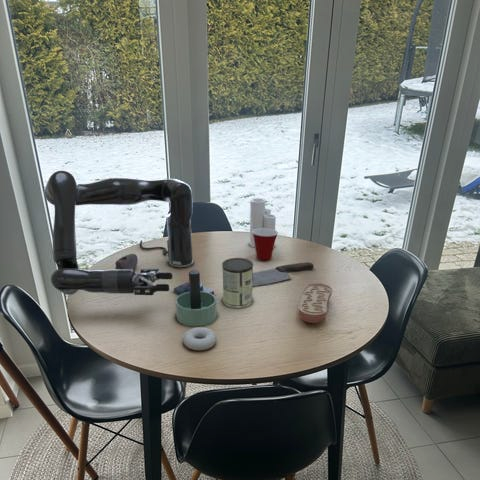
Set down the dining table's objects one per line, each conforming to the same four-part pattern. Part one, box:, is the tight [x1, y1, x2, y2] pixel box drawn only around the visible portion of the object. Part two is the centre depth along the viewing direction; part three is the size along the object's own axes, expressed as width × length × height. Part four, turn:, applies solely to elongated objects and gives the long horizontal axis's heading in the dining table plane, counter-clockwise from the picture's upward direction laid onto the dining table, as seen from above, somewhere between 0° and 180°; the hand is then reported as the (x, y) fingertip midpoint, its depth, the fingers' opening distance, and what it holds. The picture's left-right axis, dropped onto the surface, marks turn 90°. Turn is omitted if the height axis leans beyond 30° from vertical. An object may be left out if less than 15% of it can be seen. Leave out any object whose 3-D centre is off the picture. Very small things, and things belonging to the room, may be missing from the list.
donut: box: [182, 326, 217, 351], centre depth 139 cm, size 10×4×10 cm
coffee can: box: [221, 257, 254, 309], centre depth 160 cm, size 10×10×14 cm
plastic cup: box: [252, 228, 279, 262], centre depth 194 cm, size 11×11×12 cm
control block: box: [173, 281, 215, 296], centre depth 167 cm, size 12×8×4 cm
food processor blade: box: [185, 269, 203, 309], centre depth 150 cm, size 8×8×15 cm
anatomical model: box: [297, 282, 333, 324], centre depth 157 cm, size 23×10×5 cm, turn 164°
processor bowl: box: [174, 291, 218, 327], centre depth 153 cm, size 13×13×6 cm
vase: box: [249, 197, 277, 248], centre depth 205 cm, size 11×7×20 cm, turn 77°
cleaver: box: [252, 261, 314, 287], centre depth 181 cm, size 30×10×2 cm, turn 116°
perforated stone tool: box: [114, 253, 139, 271], centre depth 182 cm, size 15×5×7 cm, turn 163°
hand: (170, 281), depth 148 cm, fingers open, 8 cm apart
